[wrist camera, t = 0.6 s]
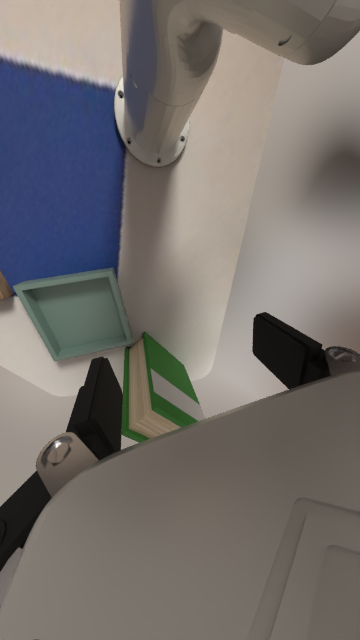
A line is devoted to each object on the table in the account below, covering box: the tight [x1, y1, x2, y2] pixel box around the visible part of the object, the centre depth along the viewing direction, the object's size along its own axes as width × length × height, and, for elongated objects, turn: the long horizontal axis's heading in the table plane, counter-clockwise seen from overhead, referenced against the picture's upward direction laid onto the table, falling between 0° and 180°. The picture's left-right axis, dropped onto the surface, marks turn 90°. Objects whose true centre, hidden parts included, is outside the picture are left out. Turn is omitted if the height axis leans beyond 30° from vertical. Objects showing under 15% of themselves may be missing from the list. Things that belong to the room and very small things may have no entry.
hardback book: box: [121, 332, 205, 443], centre depth 43 cm, size 18×7×24 cm, turn 39°
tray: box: [13, 268, 133, 361], centre depth 41 cm, size 18×18×4 cm
